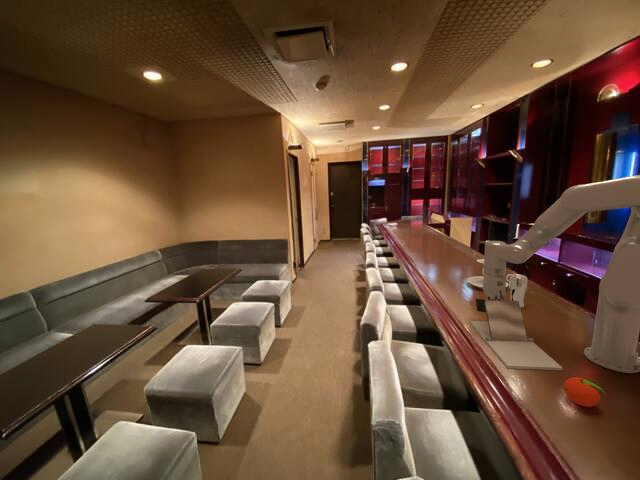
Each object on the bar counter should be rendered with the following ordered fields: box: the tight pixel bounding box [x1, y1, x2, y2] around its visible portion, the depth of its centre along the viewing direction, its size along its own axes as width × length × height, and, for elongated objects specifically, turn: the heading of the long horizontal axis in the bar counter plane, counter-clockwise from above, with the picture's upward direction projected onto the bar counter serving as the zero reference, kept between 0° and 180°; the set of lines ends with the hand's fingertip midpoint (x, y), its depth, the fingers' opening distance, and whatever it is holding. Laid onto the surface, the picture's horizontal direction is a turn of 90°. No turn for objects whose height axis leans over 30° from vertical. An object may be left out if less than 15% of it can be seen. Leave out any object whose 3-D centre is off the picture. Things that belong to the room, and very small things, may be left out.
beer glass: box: [508, 273, 528, 309], centre depth 128 cm, size 7×7×15 cm
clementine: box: [563, 376, 607, 408], centre depth 70 cm, size 8×7×7 cm
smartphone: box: [475, 298, 487, 313], centre depth 130 cm, size 7×1×15 cm
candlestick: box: [466, 240, 513, 290], centre depth 151 cm, size 21×25×28 cm
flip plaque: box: [484, 300, 528, 339], centre depth 101 cm, size 14×12×1 cm
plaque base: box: [469, 320, 563, 372], centre depth 99 cm, size 30×16×2 cm, turn 172°
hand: (491, 311), depth 111 cm, fingers closed
